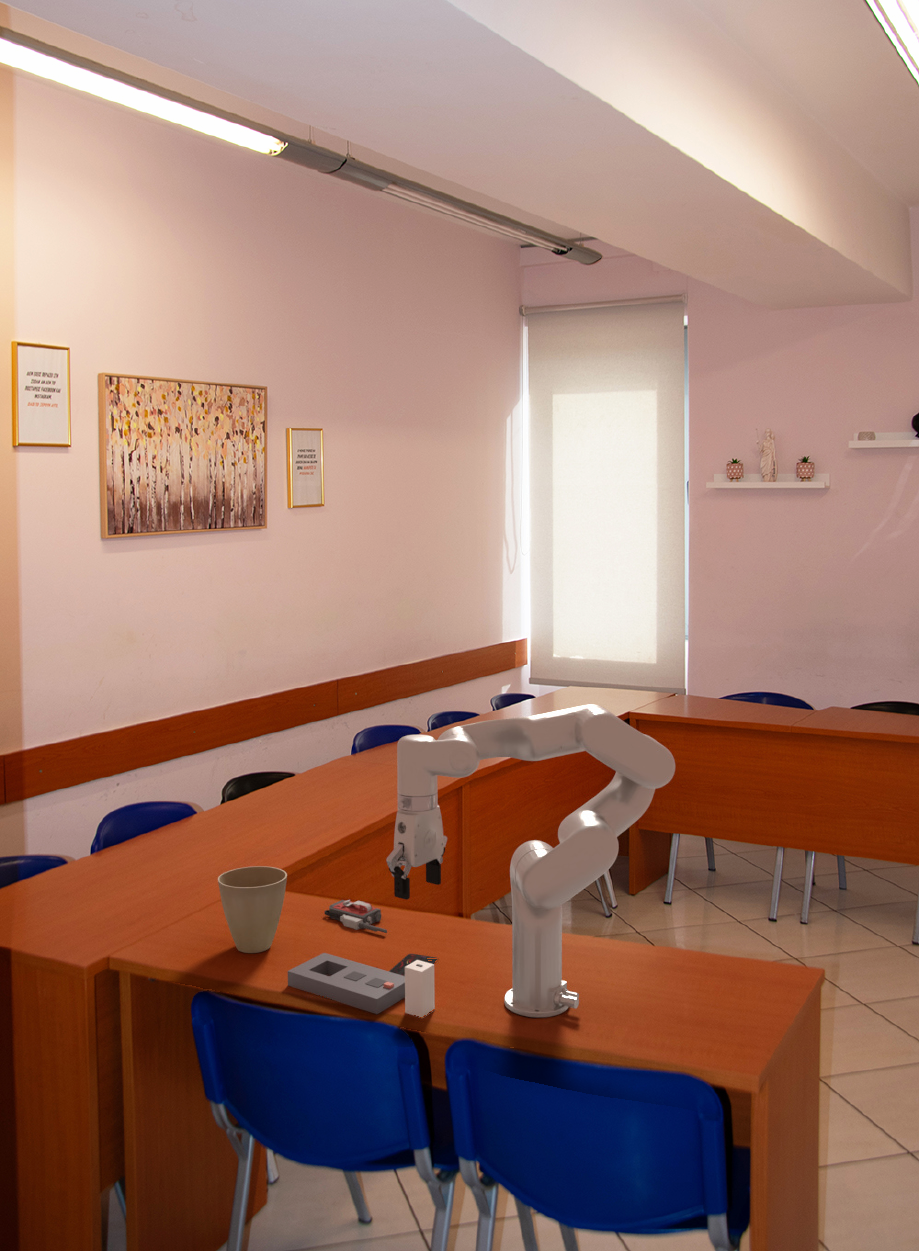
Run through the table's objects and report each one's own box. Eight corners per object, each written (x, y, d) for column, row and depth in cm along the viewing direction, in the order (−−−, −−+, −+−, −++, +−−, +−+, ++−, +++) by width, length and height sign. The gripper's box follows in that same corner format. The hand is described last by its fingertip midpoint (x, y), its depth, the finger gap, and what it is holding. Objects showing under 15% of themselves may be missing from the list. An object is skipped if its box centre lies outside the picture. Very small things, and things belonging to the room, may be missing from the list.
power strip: (412, 992, 208) (411, 975, 207) (377, 1014, 198) (376, 995, 198) (324, 966, 220) (324, 949, 220) (287, 985, 211) (287, 968, 211)
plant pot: (297, 952, 228) (295, 881, 226) (229, 965, 221) (227, 891, 220) (277, 929, 241) (275, 861, 240) (212, 940, 235) (210, 871, 233)
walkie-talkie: (317, 920, 247) (383, 939, 236) (317, 902, 247) (383, 920, 235) (342, 909, 254) (407, 926, 243) (342, 891, 254) (407, 908, 242)
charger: (434, 1009, 200) (434, 963, 199) (422, 1017, 197) (421, 970, 196) (417, 1004, 202) (417, 958, 202) (405, 1012, 199) (404, 966, 198)
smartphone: (439, 957, 224) (410, 985, 210) (439, 960, 224) (410, 988, 210) (408, 952, 227) (377, 979, 213) (409, 955, 227) (378, 983, 213)
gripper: (404, 814, 187) (405, 908, 189) (460, 794, 201) (460, 881, 203) (372, 808, 191) (373, 899, 193) (429, 789, 205) (429, 874, 207)
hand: (418, 890), depth 198 cm, fingers open, 9 cm apart
